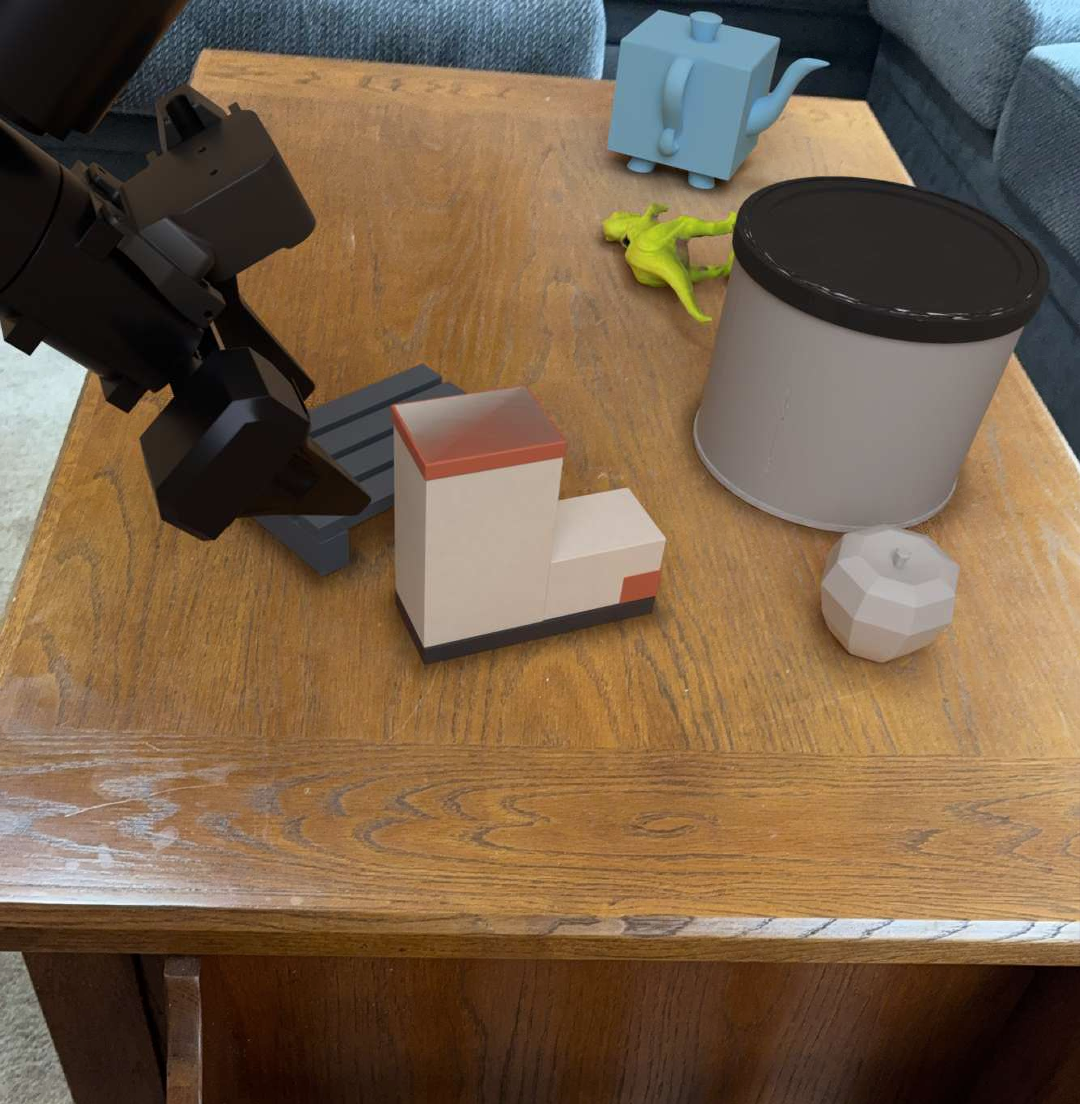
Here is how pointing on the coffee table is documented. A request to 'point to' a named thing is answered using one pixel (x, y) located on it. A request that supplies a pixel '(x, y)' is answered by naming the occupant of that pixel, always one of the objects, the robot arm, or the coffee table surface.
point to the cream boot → (507, 530)
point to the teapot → (697, 94)
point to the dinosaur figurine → (668, 250)
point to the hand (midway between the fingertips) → (335, 446)
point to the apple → (887, 591)
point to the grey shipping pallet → (355, 461)
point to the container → (860, 348)
